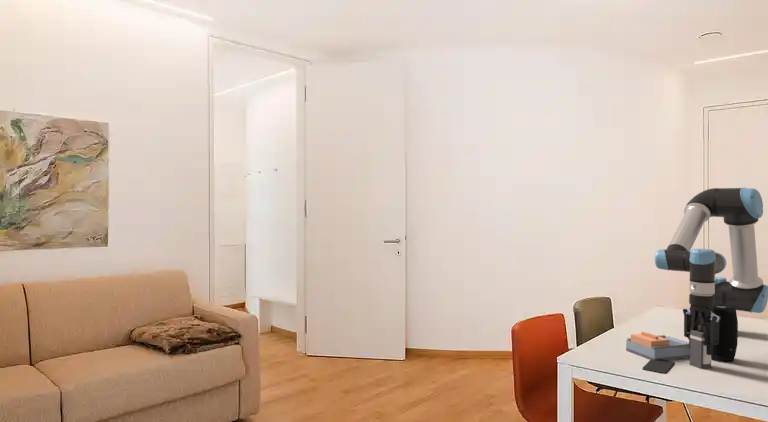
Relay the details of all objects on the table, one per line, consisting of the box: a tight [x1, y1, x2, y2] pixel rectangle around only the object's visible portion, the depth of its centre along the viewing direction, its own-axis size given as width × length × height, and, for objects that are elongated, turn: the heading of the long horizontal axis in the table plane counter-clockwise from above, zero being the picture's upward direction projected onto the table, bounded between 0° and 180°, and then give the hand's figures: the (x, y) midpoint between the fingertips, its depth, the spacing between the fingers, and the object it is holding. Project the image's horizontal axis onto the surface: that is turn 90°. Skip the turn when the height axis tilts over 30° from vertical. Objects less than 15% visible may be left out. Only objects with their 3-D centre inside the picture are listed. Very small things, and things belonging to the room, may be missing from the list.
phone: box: [642, 359, 675, 375], centre depth 187 cm, size 7×1×15 cm
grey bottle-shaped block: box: [689, 324, 712, 370], centre depth 187 cm, size 5×5×14 cm
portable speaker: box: [711, 304, 739, 363], centre depth 195 cm, size 9×9×20 cm
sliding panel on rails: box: [625, 334, 690, 361], centre depth 202 cm, size 20×14×5 cm
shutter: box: [630, 331, 669, 348], centre depth 201 cm, size 8×10×4 cm
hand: (700, 361), depth 187 cm, fingers closed on grey bottle-shaped block, 4 cm apart
